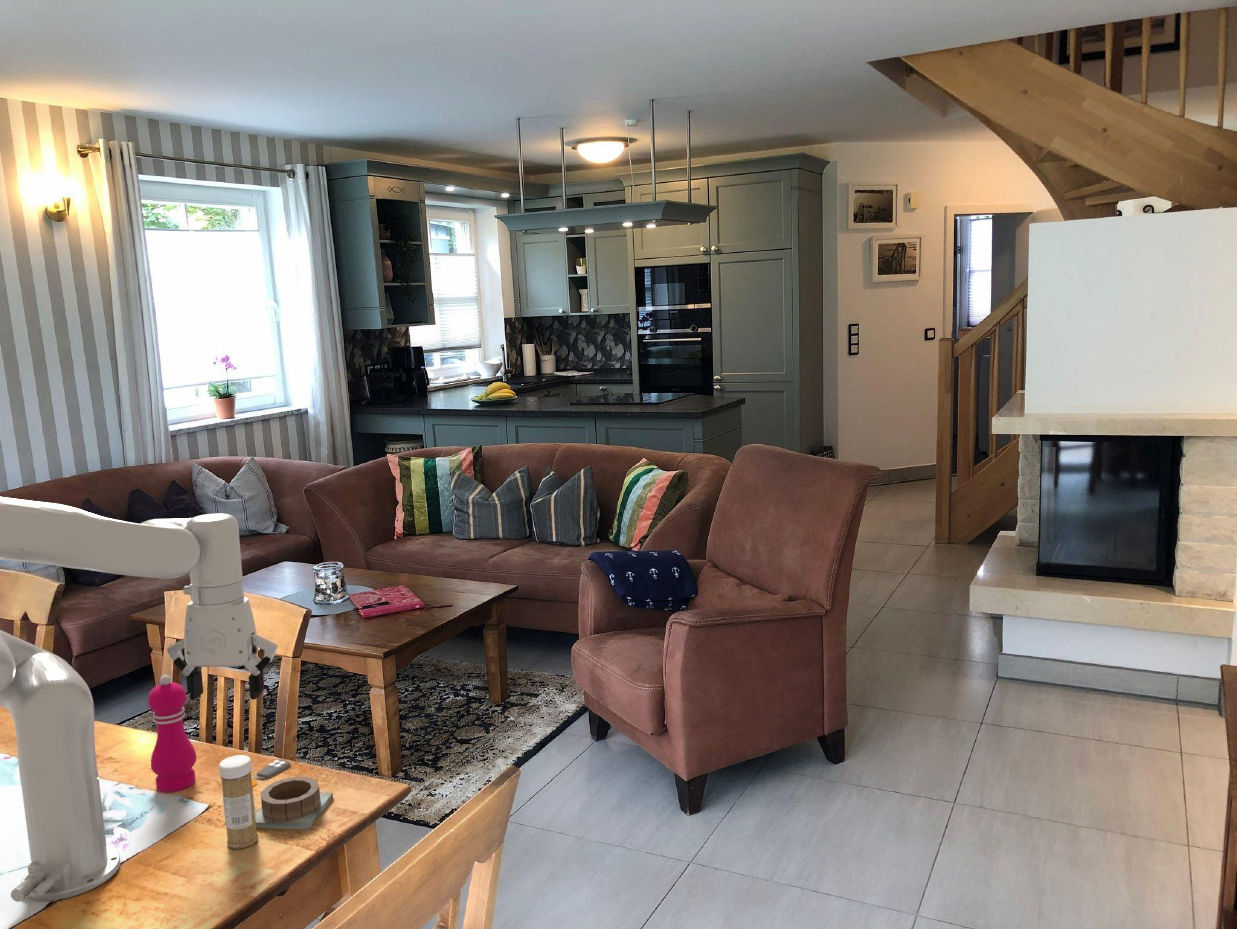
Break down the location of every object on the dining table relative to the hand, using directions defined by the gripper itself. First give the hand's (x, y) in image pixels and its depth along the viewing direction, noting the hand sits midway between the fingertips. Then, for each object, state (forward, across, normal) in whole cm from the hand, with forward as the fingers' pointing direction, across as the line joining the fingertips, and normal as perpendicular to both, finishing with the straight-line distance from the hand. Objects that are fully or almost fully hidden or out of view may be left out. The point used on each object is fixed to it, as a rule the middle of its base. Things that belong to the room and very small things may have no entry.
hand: (226, 696), depth 151 cm
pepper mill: (+21, -16, +12) cm, 29 cm away
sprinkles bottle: (+21, +4, -7) cm, 23 cm away
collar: (+21, +9, +1) cm, 22 cm away
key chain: (+21, -2, +13) cm, 25 cm away
